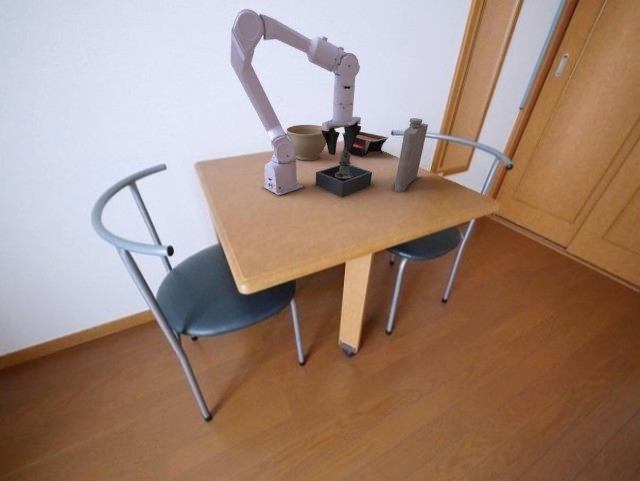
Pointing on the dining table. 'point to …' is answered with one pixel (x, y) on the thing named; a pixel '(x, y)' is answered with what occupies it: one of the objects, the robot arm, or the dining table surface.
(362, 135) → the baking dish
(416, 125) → the hip flask
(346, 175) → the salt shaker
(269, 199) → the dining table surface
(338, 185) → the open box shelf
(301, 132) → the planter bowl
